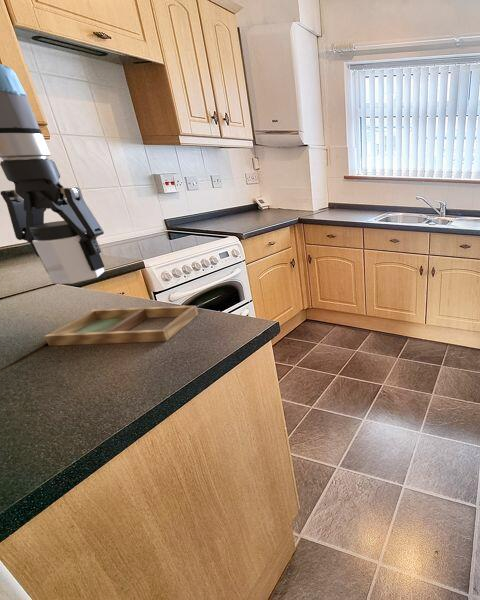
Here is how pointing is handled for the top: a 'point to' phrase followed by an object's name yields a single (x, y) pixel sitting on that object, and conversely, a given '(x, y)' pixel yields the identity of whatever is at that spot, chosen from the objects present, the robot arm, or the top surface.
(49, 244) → the jar
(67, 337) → the organiser
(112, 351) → the top surface
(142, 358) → the top surface
